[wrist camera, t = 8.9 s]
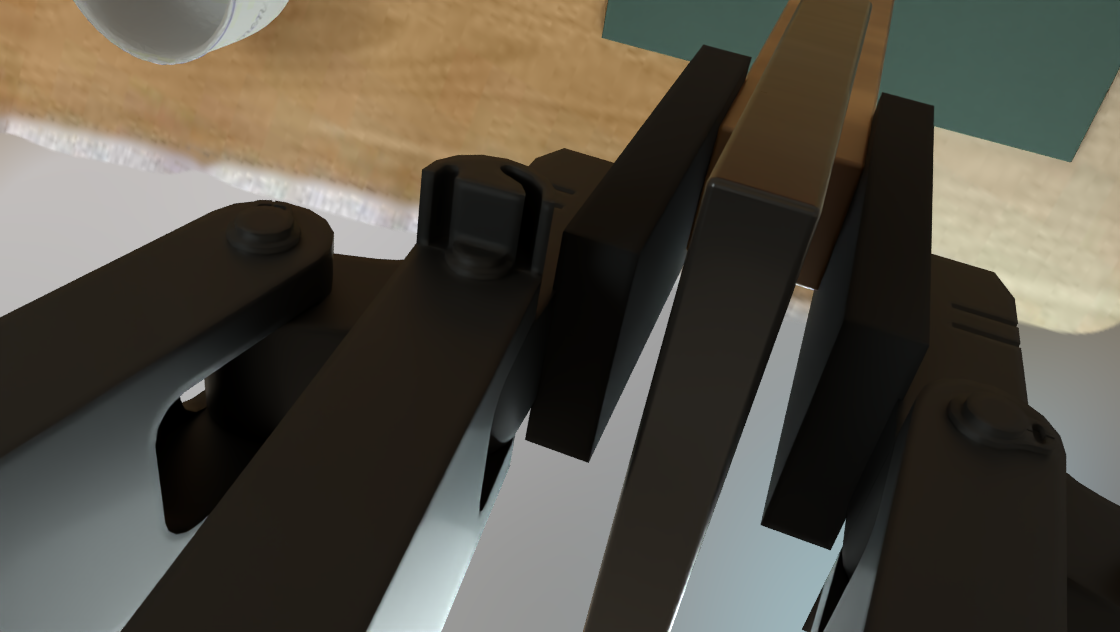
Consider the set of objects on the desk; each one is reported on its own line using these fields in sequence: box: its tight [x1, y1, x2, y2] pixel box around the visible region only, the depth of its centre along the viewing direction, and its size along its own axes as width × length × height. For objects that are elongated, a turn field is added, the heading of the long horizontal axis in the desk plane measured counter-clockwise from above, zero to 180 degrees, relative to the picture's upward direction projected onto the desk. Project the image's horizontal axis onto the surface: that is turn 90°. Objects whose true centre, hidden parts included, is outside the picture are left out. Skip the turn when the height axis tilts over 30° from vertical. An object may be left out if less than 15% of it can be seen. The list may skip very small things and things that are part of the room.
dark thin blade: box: [583, 0, 894, 632], centre depth 16 cm, size 2×6×20 cm, turn 171°
